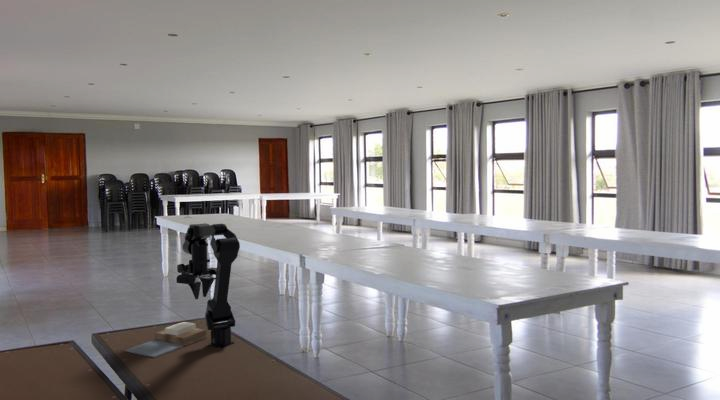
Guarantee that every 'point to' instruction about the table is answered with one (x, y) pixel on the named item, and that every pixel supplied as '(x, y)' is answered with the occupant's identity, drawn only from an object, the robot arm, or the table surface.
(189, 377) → the table surface
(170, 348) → the mat
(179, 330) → the cream rectangular block
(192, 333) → the deck
